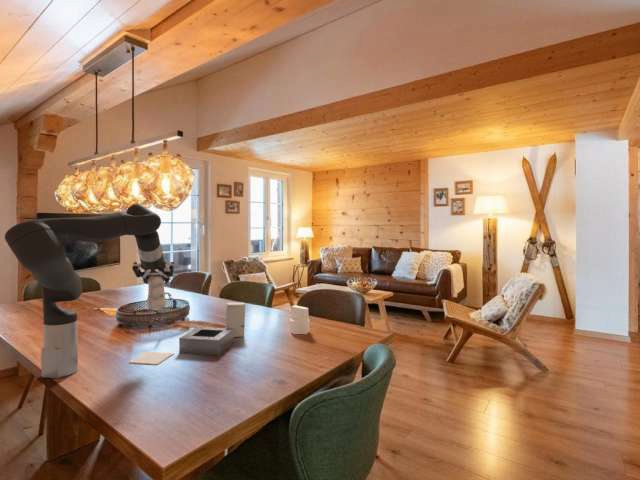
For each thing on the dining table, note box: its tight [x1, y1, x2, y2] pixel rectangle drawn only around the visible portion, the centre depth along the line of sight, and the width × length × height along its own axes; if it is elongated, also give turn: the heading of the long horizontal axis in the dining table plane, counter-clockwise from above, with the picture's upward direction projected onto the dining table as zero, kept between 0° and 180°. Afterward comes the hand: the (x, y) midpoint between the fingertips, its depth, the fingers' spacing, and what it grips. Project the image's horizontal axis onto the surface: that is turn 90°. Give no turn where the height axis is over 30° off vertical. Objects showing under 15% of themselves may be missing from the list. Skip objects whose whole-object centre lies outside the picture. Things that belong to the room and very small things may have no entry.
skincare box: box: [225, 301, 246, 338], centre depth 167 cm, size 8×6×15 cm
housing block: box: [178, 326, 235, 357], centre depth 150 cm, size 16×16×6 cm
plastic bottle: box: [146, 273, 167, 311], centre depth 137 cm, size 6×7×20 cm
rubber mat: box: [128, 351, 175, 366], centre depth 137 cm, size 11×11×1 cm
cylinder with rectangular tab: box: [289, 304, 310, 335], centre depth 173 cm, size 9×9×12 cm
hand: (157, 281), depth 139 cm, fingers closed on plastic bottle, 6 cm apart
